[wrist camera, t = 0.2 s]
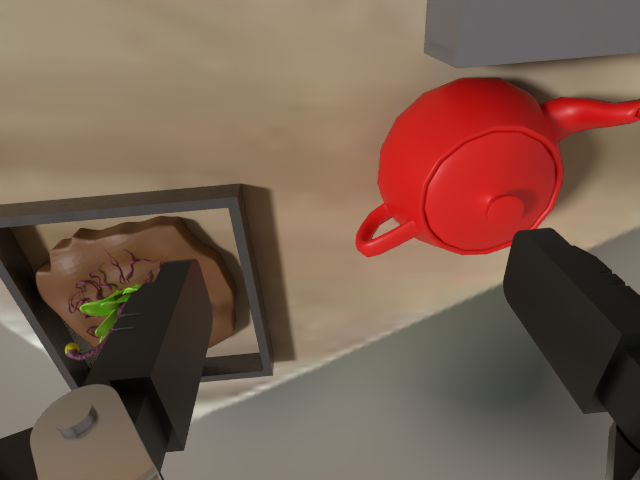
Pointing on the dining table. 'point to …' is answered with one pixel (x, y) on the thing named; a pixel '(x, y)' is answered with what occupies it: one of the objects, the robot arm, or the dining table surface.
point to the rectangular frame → (20, 279)
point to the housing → (529, 30)
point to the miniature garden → (126, 276)
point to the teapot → (477, 164)
